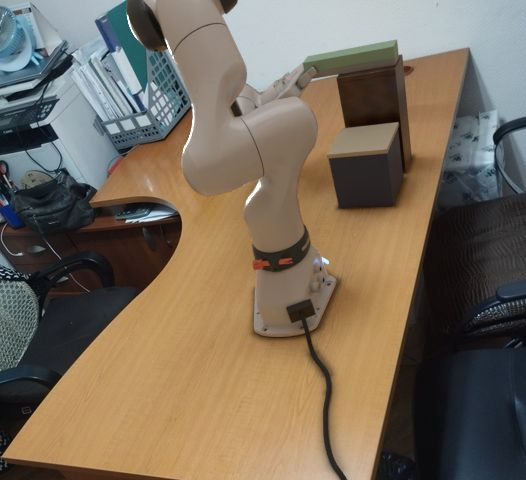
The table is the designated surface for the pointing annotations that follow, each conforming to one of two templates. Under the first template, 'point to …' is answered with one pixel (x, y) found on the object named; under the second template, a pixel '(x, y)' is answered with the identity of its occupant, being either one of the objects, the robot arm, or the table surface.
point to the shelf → (377, 101)
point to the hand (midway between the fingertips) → (318, 63)
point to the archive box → (366, 165)
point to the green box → (353, 59)
